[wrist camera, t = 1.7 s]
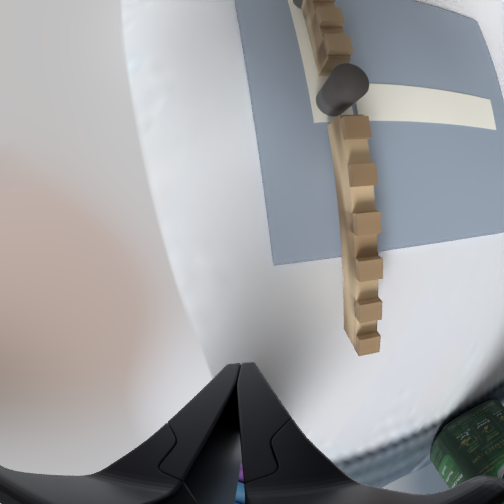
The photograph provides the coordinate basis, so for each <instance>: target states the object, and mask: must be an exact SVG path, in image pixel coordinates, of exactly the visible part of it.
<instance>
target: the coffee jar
mask: <svg viewBox="0 0 504 504" xmlns="http://www.w3.org/2000/svg"><path fill="white" fill-rule="evenodd" d="M430 459H431V461H432V463H433V464H434V466H435V468H436V469H437V470H438V472H439V474H440V475H441V477H442V478H443V479H444V481H445V482H446V484H447V485H448V486H449V488H450V489H451V488H453V487H455V486H457V485H459V484H461V483H463V482H465V481H467V480H469V479H471V478H474V477H477V476H481V475H486V476H493V477H499V478H502V479H504V407H503V405H502V404H501V403H500V402H499V401H498V400H495V399H492V400H488V401H486V402H484V403H482V404H480V405H478V406H476V407H474V408H473V409H471V410H469V411H467V412H465V413H464V414H462V415H460V416H459V417H457V418H455V419H454V420H452V421H451V422H449V423H448V424H447V425H446V426H445V427H444V428H443V430H442V431H441V432H440V433H439V434H438V436H437V437H436V438H435V440H434V442H433V444H432V447H431V451H430ZM502 504H504V502H503V503H502Z"/></svg>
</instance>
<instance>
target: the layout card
mask: <svg viewBox="0 0 504 504" xmlns="http://www.w3.org/2000/svg"><path fill="white" fill-rule="evenodd" d="M334 3H335V6H336V7H339V8H341V11H342V14H343V17H344V20H345V23H344V25H343V27H342V28H343V31H344V34H349V36H350V39H351V43H352V46H353V50H354V51H353V53H352V54H351V60H350V61H349V64H353V65H356V66H358V67H359V68H361V69H362V70H363V71H364V72H365V74H366V75H367V77H368V80H369V89H368V92H367V93H366V94H365V95H364V96H363V97H361V98H360V99H359V100H358V101H357V102H355V103H354V104H353V105H352V106H350V107H349V108H348V109H347V110H346V111H344V112H343V113H342V114H341V115H364V116H369V122H370V128H371V134H372V137H371V138H368V146H369V153H370V160H371V163H376V170H377V179H378V185H373V186H374V197H375V209H376V210H377V211H380V213H381V229H382V233H379V234H377V245H378V252H379V251H386V250H393V249H400V248H406V247H413V246H420V245H427V244H433V243H440V242H447V241H453V240H459V239H466V238H472V237H478V236H485V235H491V234H497V233H503V232H504V100H503V96H502V92H501V88H500V85H499V81H498V78H497V74H496V71H495V68H494V65H493V62H492V59H491V56H490V53H489V50H488V47H487V45H486V42H485V39H484V37H483V34H482V32H481V30H480V27H479V25H478V23H477V21H475V20H473V19H470V18H468V17H465V16H462V15H459V14H457V13H454V12H451V11H448V10H444V9H441V8H438V7H435V6H431V5H428V4H424V3H420V2H416V1H412V0H335V2H334ZM235 4H236V10H237V16H238V22H239V28H240V34H241V40H242V46H243V52H244V58H245V64H246V71H247V77H248V83H249V90H250V96H251V103H252V109H253V116H254V123H255V130H256V137H257V144H258V151H259V158H260V165H261V172H262V179H263V187H264V194H265V202H266V209H267V217H268V225H269V232H270V240H271V248H272V256H273V265H282V264H290V263H297V262H305V261H313V260H320V259H328V258H335V257H342V251H341V237H340V224H339V213H338V202H337V193H336V184H335V176H334V168H333V160H332V153H331V146H330V139H329V133H328V127H327V125H328V124H330V123H331V122H332V121H333V120H334V119H335V118H337V117H338V116H339V115H338V116H328V115H326V114H324V113H323V112H321V111H320V109H319V108H318V106H317V104H316V96H317V94H318V92H319V91H320V89H321V88H322V86H323V85H324V83H325V82H326V80H327V79H328V77H329V76H318V73H317V69H316V64H315V60H314V55H313V51H312V47H311V43H310V39H309V35H308V31H307V27H306V23H305V20H304V16H303V12H302V9H300V8H298V7H297V6H296V5H295V4H294V3H293V0H235Z"/></svg>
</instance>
